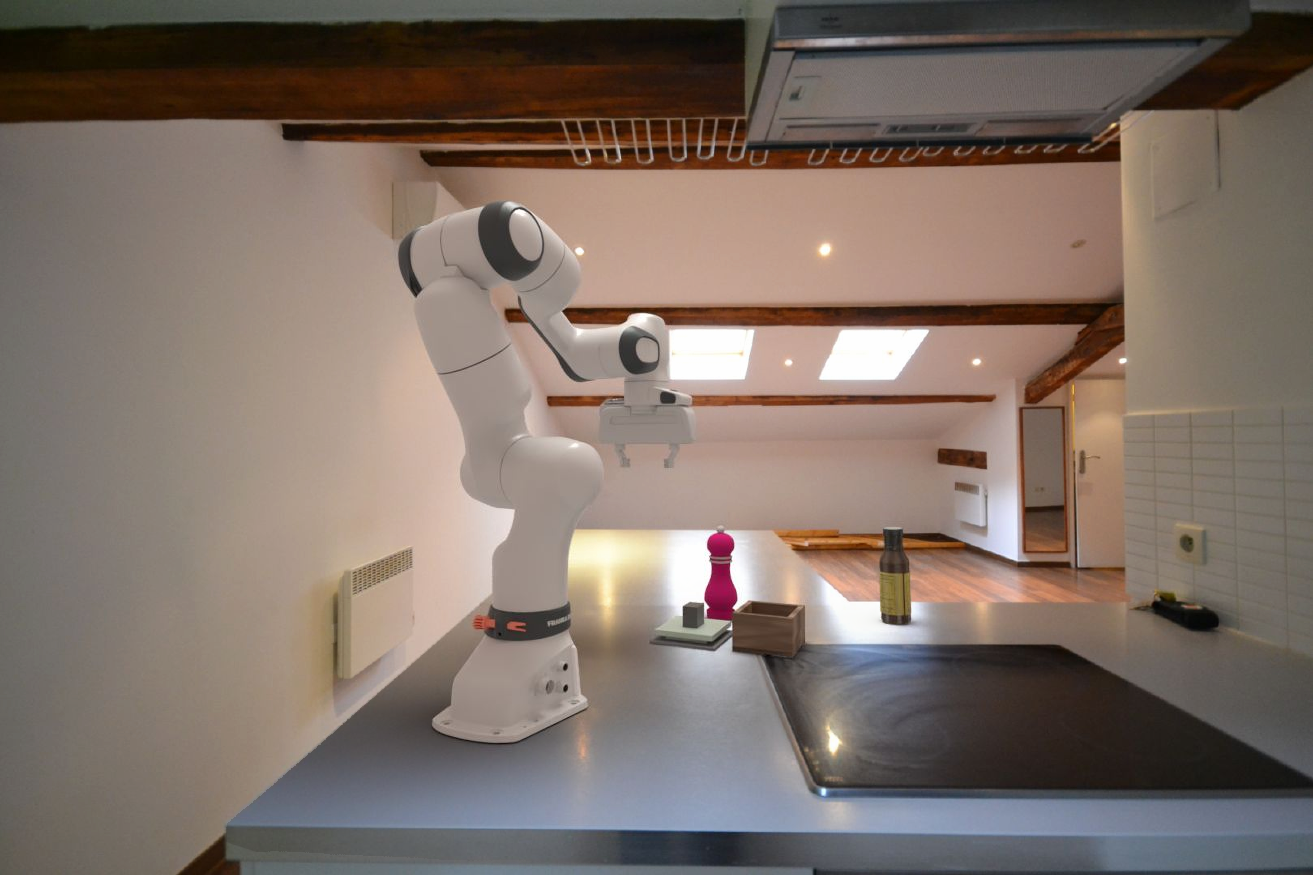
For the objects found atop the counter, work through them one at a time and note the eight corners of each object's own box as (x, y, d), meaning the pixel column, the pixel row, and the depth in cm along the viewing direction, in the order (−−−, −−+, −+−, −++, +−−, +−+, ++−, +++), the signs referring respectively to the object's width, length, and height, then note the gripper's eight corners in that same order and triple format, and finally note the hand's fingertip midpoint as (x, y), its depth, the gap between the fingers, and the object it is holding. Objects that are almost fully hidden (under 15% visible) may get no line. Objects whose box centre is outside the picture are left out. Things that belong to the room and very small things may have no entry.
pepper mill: (699, 615, 155) (699, 524, 155) (729, 612, 157) (729, 523, 157) (711, 623, 148) (711, 528, 148) (743, 620, 150) (742, 526, 150)
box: (792, 658, 123) (792, 618, 124) (732, 651, 128) (732, 612, 128) (805, 642, 134) (804, 605, 134) (748, 635, 138) (748, 600, 138)
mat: (714, 651, 128) (714, 648, 128) (649, 643, 133) (649, 640, 133) (735, 633, 140) (735, 630, 140) (675, 626, 145) (675, 624, 145)
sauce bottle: (900, 617, 152) (900, 525, 152) (917, 624, 146) (916, 528, 146) (873, 618, 151) (873, 526, 151) (889, 626, 145) (889, 529, 145)
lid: (712, 646, 129) (712, 614, 129) (654, 640, 134) (654, 608, 134) (731, 631, 140) (731, 600, 140) (676, 625, 144) (676, 596, 144)
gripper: (592, 398, 140) (592, 467, 140) (688, 395, 132) (689, 468, 132) (606, 399, 146) (607, 466, 146) (699, 396, 138) (700, 467, 138)
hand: (646, 467), depth 139 cm, fingers open, 8 cm apart
